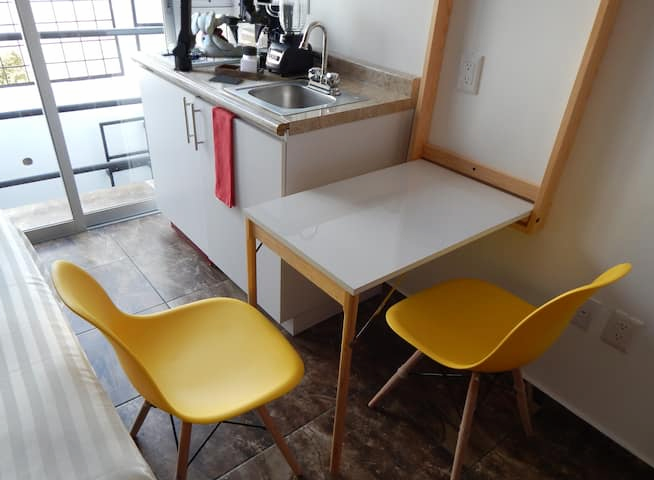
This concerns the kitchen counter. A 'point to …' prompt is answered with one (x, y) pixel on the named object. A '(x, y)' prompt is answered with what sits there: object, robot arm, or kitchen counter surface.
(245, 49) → the medicine bottle
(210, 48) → the plush elephant
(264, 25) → the robot arm
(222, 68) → the holder
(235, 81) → the mat
